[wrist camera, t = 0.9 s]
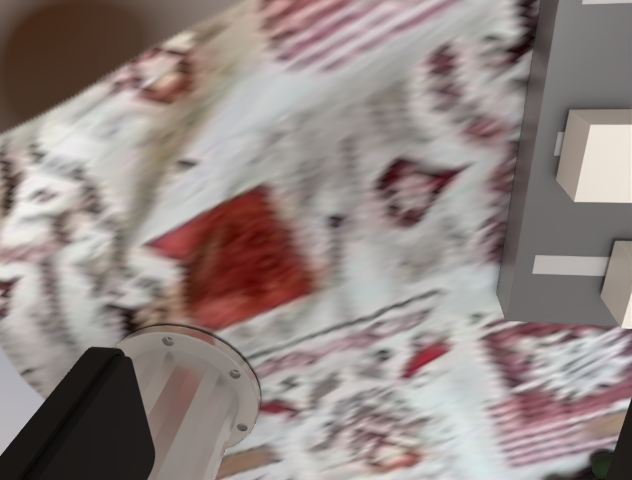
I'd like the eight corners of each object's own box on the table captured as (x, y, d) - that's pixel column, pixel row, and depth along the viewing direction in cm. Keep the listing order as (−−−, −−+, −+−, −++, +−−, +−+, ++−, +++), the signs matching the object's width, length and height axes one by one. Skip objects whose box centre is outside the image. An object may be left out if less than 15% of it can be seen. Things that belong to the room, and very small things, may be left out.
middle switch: (618, 180, 26) (643, 202, 23) (556, 180, 26) (574, 201, 23) (636, 109, 24) (665, 124, 21) (569, 109, 24) (590, 124, 22)
